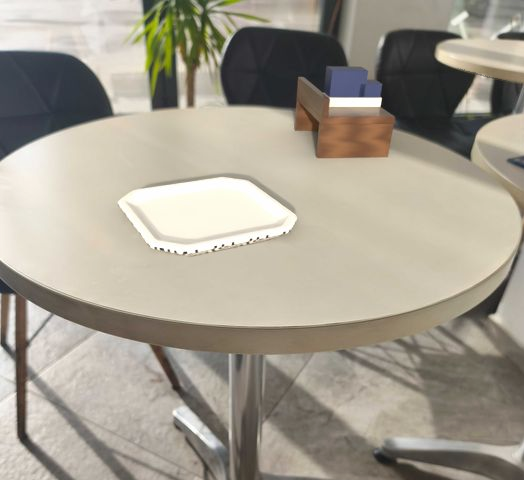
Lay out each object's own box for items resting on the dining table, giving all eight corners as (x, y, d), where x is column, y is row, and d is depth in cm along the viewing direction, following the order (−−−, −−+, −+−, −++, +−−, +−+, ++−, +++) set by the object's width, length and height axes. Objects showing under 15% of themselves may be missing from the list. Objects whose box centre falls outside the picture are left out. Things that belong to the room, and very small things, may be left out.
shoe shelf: (355, 128, 110) (362, 77, 104) (387, 157, 95) (398, 98, 89) (294, 129, 108) (298, 76, 102) (317, 158, 93) (323, 98, 87)
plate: (309, 239, 66) (310, 224, 64) (160, 272, 58) (158, 255, 56) (240, 187, 80) (240, 173, 78) (112, 207, 72) (110, 192, 70)
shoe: (372, 101, 100) (378, 66, 96) (380, 106, 96) (386, 71, 93) (320, 101, 98) (323, 65, 94) (326, 106, 95) (330, 70, 91)
